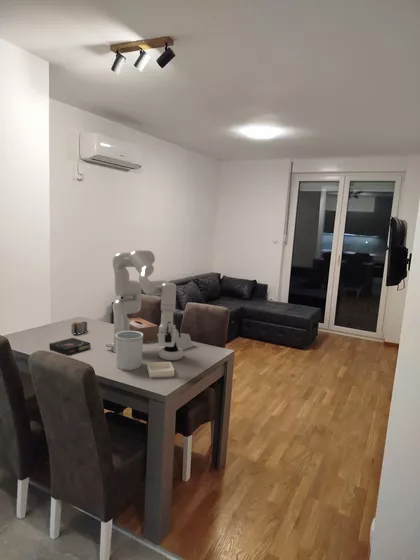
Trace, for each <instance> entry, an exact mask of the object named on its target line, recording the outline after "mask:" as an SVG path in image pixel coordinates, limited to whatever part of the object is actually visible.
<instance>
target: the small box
mask: <svg viewBox="0 0 420 560" xmlns="http://www.w3.org/2000/svg"><path fill="white" fill-rule="evenodd" d="M171 328H172V327H171ZM167 329H168V328H167ZM175 329H176V324H173V329H172V330H171V342H168V343H165V335H166V329H165V330H163V328H162V325H161V324H159V326H158V336H157V340H158V343H157V345H158V347H165V346H167V347H173V346H174V344H175ZM167 331H168V330H167Z"/></svg>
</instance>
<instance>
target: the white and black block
mask: <svg viewBox="0 0 420 560" xmlns="http://www.w3.org/2000/svg"><path fill="white" fill-rule="evenodd" d="M180 334H181V337H180V336H179V338H178V340H177V341H176V344H177V347H178V348H180V349H182V350H183V351H185V350H187V348H188V349H190V347H191V348H194V347H193V346H195V345H194V343H193V342H192V339H191V336H190V334H189V333H180Z"/></svg>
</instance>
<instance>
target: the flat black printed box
mask: <svg viewBox="0 0 420 560" xmlns="http://www.w3.org/2000/svg"><path fill="white" fill-rule="evenodd" d="M48 344H49V345H48V346H49V348H50V349H52V350H51V351H53V350H54V351H53V352H56V353H59V352H60V353H59V354H61V353H62V355H65V354H66V355H65V356H71V355H73V354H76V353H81V352H84V351H87V350H90V349H91V348H92V347H91V346H92V345H91V342H88V341H85V340H81V339H78V338H75V337H70V338H66V339H63V340H59V341H58V340H57V341H54V342H51V343H48ZM50 349H49V350H50Z"/></svg>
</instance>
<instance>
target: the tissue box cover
mask: <svg viewBox="0 0 420 560" xmlns="http://www.w3.org/2000/svg"><path fill="white" fill-rule="evenodd" d="M129 320H130V331H138V332H141V333H143V343H146V342H151V341H157V340H158V335H159V326H158V325H157V324H154V323H152V322H150V321H149V320H148V321H147V320H145V319H143V318H140V317H136V318H134V317H133V318H129Z"/></svg>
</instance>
